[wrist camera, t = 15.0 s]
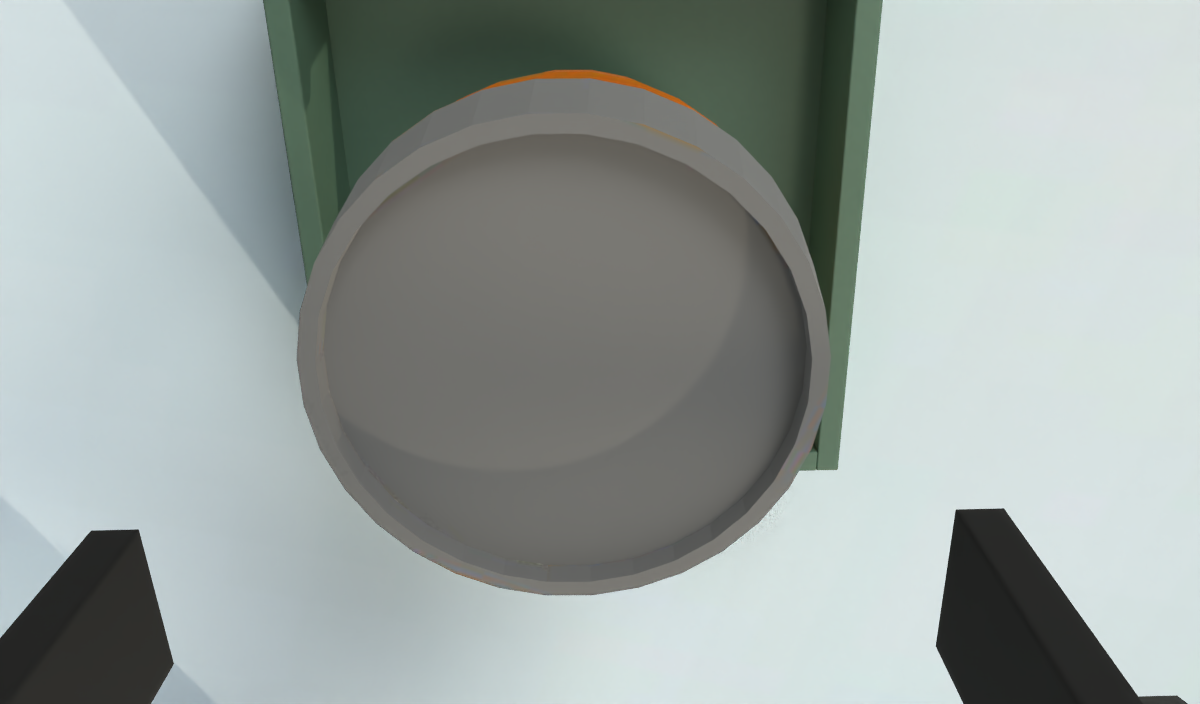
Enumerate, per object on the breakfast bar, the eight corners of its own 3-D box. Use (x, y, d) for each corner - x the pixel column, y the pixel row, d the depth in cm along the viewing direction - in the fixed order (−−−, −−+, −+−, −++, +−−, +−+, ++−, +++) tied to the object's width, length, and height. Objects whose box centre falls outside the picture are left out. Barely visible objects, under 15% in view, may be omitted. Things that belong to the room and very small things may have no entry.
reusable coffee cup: (804, 269, 36) (925, 479, 22) (519, 408, 39) (472, 673, 25) (653, -46, 32) (690, -24, 18) (342, 134, 34) (166, 275, 20)
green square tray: (364, 419, 40) (336, 477, 35) (297, -70, 32) (251, -70, 28) (812, 412, 39) (837, 470, 35) (853, -82, 32) (891, -83, 28)
